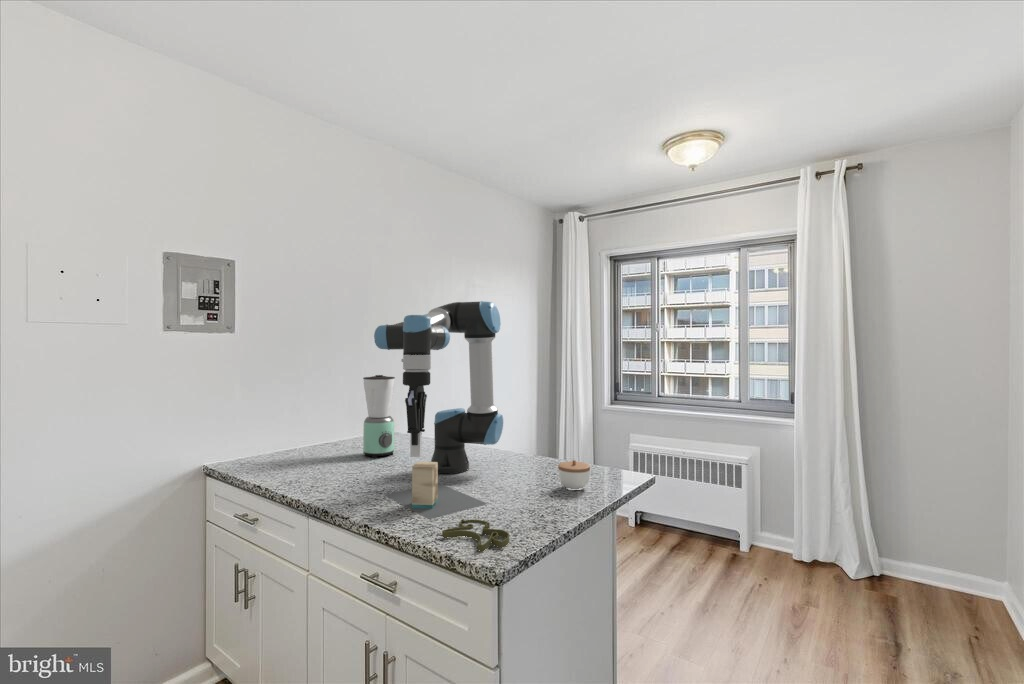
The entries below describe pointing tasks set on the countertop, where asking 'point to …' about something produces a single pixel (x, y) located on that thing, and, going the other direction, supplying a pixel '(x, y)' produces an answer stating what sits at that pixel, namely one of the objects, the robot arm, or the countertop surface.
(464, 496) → the charcoal mat
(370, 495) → the countertop surface
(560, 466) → the lidded jar
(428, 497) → the maple block
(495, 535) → the cookie cutter
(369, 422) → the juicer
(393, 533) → the countertop surface
